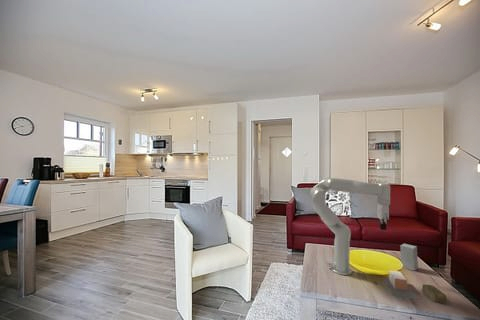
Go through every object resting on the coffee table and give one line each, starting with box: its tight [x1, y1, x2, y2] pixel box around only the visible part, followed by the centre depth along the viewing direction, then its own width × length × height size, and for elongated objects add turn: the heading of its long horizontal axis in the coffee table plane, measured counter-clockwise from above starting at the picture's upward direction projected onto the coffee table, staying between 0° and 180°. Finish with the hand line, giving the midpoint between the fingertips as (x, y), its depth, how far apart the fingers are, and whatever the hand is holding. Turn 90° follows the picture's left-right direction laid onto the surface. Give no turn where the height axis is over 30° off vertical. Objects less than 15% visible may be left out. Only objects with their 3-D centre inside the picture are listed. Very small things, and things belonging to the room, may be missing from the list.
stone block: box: [421, 283, 447, 304], centre depth 128 cm, size 6×12×5 cm, turn 172°
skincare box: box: [400, 243, 419, 272], centre depth 164 cm, size 8×7×16 cm
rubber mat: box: [382, 278, 419, 300], centre depth 136 cm, size 12×20×1 cm, turn 163°
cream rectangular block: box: [388, 269, 408, 291], centre depth 140 cm, size 6×6×11 cm
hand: (383, 229), depth 156 cm, fingers closed
